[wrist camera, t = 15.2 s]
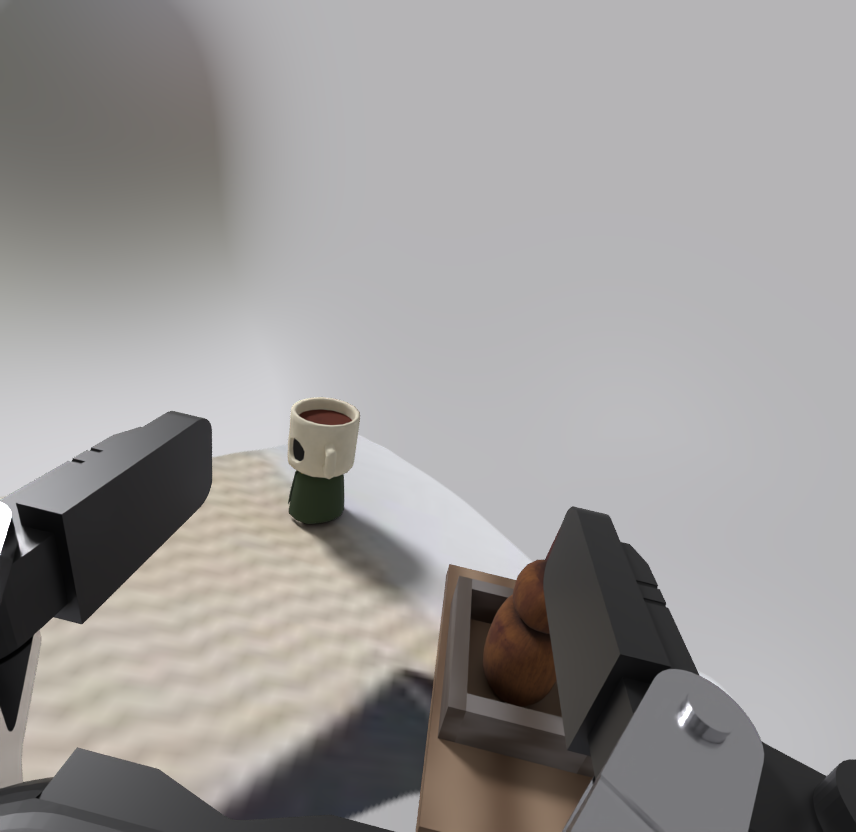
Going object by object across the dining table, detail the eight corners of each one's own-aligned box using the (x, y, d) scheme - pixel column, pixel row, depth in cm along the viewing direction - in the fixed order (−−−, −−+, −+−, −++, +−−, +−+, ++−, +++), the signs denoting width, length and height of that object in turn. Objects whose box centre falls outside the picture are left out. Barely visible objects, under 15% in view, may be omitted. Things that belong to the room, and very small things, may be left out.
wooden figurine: (493, 631, 40) (543, 492, 34) (556, 667, 38) (622, 527, 31) (462, 692, 34) (516, 539, 28) (534, 739, 32) (609, 585, 26)
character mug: (280, 484, 55) (287, 388, 50) (338, 482, 58) (350, 390, 52) (286, 546, 46) (295, 436, 41) (354, 540, 49) (371, 437, 43)
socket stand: (414, 838, 27) (430, 793, 25) (446, 574, 47) (457, 537, 45) (612, 891, 26) (645, 849, 24) (559, 602, 46) (575, 566, 44)
